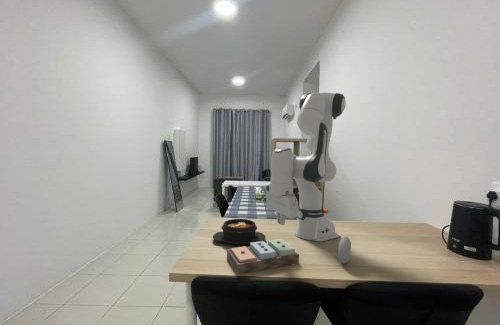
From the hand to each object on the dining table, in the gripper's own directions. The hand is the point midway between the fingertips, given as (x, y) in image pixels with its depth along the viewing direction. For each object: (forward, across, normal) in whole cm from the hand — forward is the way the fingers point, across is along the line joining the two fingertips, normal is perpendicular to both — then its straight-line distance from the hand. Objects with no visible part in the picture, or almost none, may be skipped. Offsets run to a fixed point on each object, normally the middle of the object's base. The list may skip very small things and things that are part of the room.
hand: (281, 223), depth 96 cm
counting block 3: (+12, 0, 0) cm, 12 cm away
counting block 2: (+11, 0, +8) cm, 14 cm away
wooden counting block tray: (+14, 0, +8) cm, 16 cm away
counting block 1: (+13, 0, +16) cm, 21 cm away
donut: (+14, -12, -21) cm, 28 cm away
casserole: (+14, +23, +10) cm, 29 cm away
